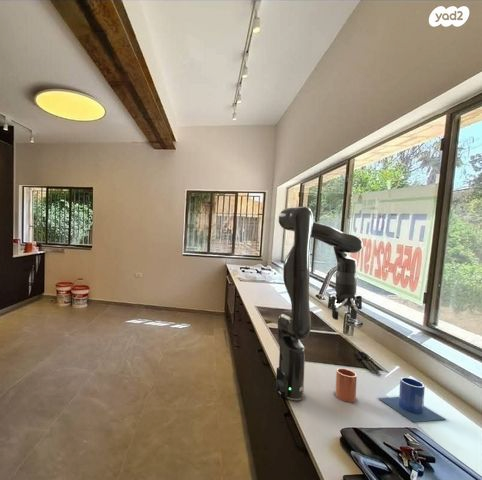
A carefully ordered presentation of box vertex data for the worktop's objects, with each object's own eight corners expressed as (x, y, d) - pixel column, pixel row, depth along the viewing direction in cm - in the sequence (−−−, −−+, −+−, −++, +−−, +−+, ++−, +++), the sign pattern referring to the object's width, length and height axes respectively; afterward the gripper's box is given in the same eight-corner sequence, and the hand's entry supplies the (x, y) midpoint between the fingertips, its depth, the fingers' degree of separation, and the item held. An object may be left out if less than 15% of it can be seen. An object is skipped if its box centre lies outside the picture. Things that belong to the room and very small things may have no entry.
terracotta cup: (344, 402, 104) (345, 377, 103) (331, 392, 110) (332, 368, 110) (359, 401, 104) (361, 376, 104) (346, 391, 111) (347, 367, 111)
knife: (381, 377, 123) (382, 374, 123) (364, 373, 126) (364, 370, 126) (367, 354, 146) (367, 352, 146) (352, 351, 148) (353, 349, 148)
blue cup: (412, 414, 97) (413, 387, 97) (394, 403, 103) (395, 377, 103) (428, 413, 98) (429, 386, 97) (409, 402, 104) (410, 376, 104)
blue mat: (413, 422, 93) (413, 421, 93) (378, 399, 106) (378, 398, 106) (445, 419, 95) (445, 419, 95) (407, 397, 108) (407, 396, 108)
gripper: (353, 280, 121) (351, 316, 122) (324, 280, 119) (323, 316, 120) (368, 283, 114) (366, 321, 114) (337, 284, 112) (336, 322, 112)
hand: (344, 319), depth 117 cm, fingers open, 8 cm apart
